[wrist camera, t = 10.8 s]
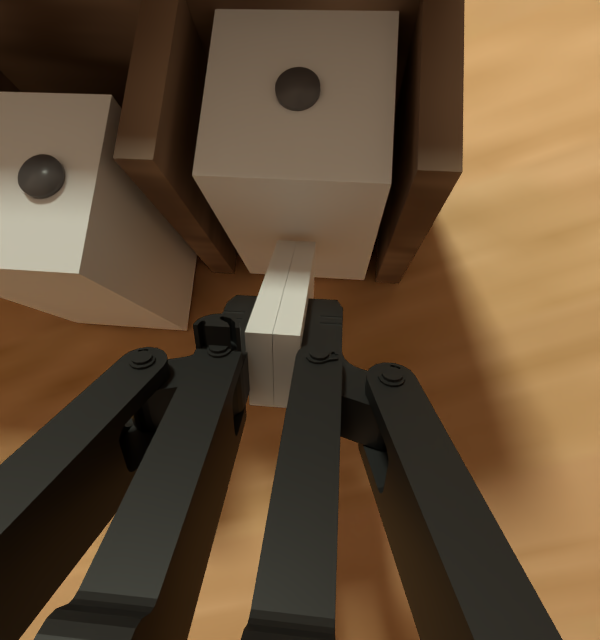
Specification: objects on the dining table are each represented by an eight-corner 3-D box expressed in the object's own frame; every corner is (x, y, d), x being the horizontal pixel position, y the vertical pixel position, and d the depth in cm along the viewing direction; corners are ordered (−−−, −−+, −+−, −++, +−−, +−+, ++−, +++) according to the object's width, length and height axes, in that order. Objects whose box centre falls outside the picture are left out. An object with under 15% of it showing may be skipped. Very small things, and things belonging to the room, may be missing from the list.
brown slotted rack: (404, 141, 24) (573, -449, 7) (398, 283, 23) (594, -60, 6) (-58, 125, 26) (-723, -357, 10) (-92, 254, 25) (-952, -57, 8)
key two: (201, 222, 24) (108, 90, 14) (187, 330, 23) (74, 271, 13) (96, 217, 24) (-68, 85, 14) (77, 322, 23) (-115, 259, 13)
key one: (370, 174, 24) (400, 5, 14) (364, 280, 23) (392, 180, 13) (261, 169, 24) (213, 3, 14) (250, 273, 23) (189, 171, 13)
